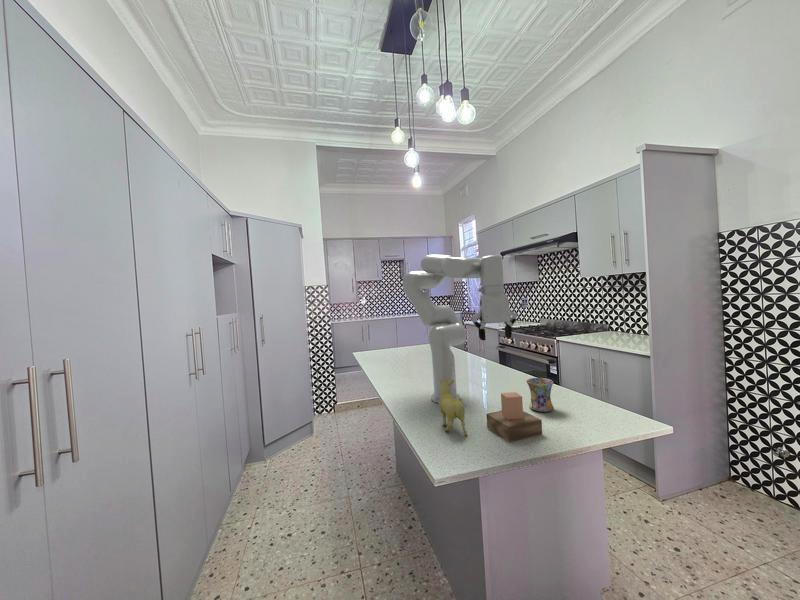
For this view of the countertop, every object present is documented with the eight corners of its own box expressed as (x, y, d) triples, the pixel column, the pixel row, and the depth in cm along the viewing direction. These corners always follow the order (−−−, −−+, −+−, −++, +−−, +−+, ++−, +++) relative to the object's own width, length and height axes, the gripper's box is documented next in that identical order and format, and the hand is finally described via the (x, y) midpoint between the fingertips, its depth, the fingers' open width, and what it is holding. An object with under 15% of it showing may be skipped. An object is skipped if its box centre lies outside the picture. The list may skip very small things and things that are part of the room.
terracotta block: (502, 414, 107) (500, 393, 107) (516, 412, 108) (515, 391, 108) (507, 419, 102) (506, 397, 102) (523, 418, 103) (522, 396, 103)
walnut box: (487, 428, 109) (486, 413, 109) (517, 422, 113) (516, 407, 112) (509, 443, 97) (508, 426, 97) (542, 435, 101) (541, 419, 101)
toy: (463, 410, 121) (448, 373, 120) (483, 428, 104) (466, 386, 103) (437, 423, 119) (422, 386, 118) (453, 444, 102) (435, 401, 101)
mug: (560, 412, 117) (558, 383, 117) (534, 414, 117) (533, 385, 117) (544, 401, 129) (542, 375, 129) (521, 403, 129) (519, 376, 129)
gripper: (473, 292, 110) (476, 342, 111) (520, 289, 113) (523, 338, 113) (465, 292, 118) (468, 339, 118) (510, 289, 120) (512, 335, 121)
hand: (495, 338), depth 116 cm, fingers open, 9 cm apart
